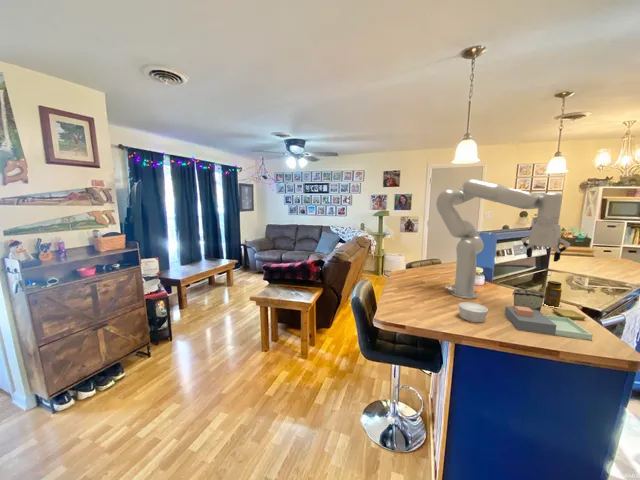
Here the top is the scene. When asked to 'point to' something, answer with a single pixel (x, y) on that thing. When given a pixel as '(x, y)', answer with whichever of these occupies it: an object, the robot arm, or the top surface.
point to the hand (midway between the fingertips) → (542, 259)
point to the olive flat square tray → (569, 314)
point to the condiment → (553, 293)
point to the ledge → (531, 322)
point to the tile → (523, 311)
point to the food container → (528, 299)
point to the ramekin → (472, 311)
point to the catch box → (569, 328)
